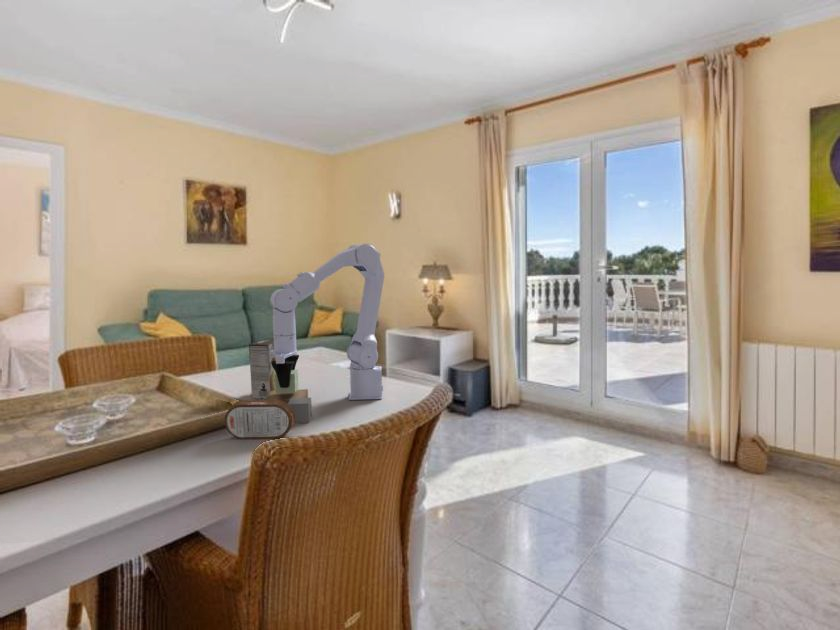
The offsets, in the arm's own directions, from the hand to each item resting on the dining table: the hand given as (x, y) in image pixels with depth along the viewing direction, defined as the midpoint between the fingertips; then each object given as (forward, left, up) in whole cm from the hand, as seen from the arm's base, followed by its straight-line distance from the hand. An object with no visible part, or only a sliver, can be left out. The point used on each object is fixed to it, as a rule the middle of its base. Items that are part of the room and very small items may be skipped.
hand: (286, 384), depth 123 cm
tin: (+2, +21, -7) cm, 22 cm away
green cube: (0, 0, -2) cm, 2 cm away
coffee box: (+8, -14, -7) cm, 17 cm away
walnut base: (0, 0, -7) cm, 7 cm away
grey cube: (-5, +10, -7) cm, 13 cm away
